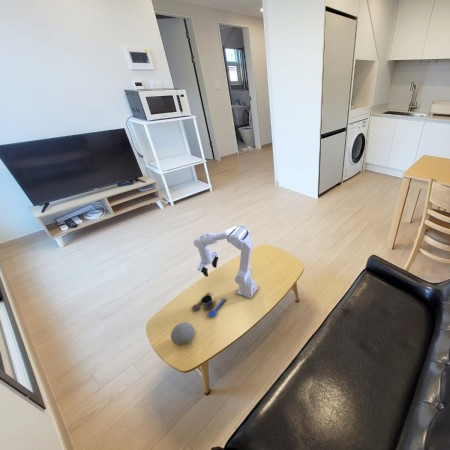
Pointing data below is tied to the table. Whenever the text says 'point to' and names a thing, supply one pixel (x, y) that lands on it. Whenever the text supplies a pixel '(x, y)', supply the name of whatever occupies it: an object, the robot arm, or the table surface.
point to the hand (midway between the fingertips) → (210, 271)
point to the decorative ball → (182, 333)
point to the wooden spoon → (197, 305)
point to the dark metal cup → (207, 302)
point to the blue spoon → (215, 309)
